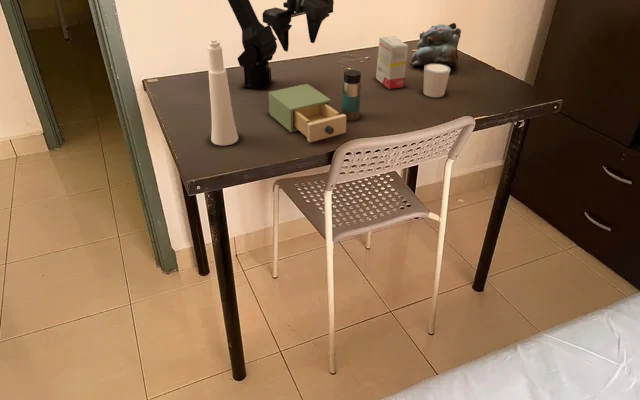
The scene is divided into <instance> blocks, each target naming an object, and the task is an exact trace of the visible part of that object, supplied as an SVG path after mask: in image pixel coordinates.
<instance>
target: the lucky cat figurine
mask: <svg viewBox="0 0 640 400" xmlns="http://www.w3.org/2000/svg"><path fill="white" fill-rule="evenodd" d="M461 33H462V29H461V28H459V27H457V23H455V22H452V23H450V24H449V25H447V24H444V23H443V24H437V25H432V26H431V27H430V28H429V29H427V30H426V31H422V32H421V33H419V40H418V42H417V45H416V47H417V50H416V51H414V53H413V54H411V59H410V60H411V63H410V65H411V66H412V67H413V68H414V67H418V66H426V65H428V64H442V65H446V66H448V67H449V68H455V67H458V66H459V63H458V62H459V54H458V47H459V43H460V38H461Z"/></svg>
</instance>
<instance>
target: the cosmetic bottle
mask: <svg viewBox="0 0 640 400" xmlns="http://www.w3.org/2000/svg"><path fill="white" fill-rule="evenodd" d="M207 43H208V47H207V52H208V63H209V69H208V87H209V98H210V99H209V100H210V113H211V114H210V115H211V136H210V140H211V142H212V144H213V145H217V146H223V147H225V146H229V145H230V146H231V145H234V144H235V143H237V142H238V141H239V134H238V131H237V127H236V123H235V118H234V113H233V107H232V100H231V99H232V98H231V94H230V86H229V81H228V73H227V69H226V68H225V66H224V58H223V57H224V55H223V47H222V46H221V42H220V40H214V39H213V40H209V41H208V42H207Z"/></svg>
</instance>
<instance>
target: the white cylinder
mask: <svg viewBox="0 0 640 400" xmlns="http://www.w3.org/2000/svg"><path fill="white" fill-rule="evenodd" d="M450 73H451V67H449V66H446V65H442V64H428V65H423V84H422V87H423V88H422V89H423V90H422V93H423V94H424V95H425V96H427V97H430V98H441V97H444V96H445V93H446V90H447V85H448V82H449V77H450Z"/></svg>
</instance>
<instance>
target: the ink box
mask: <svg viewBox="0 0 640 400" xmlns="http://www.w3.org/2000/svg"><path fill="white" fill-rule="evenodd" d="M377 51H378V52H377V63H376V74H375V79H376V80H377V81H378V82H379V83H381V84H382V85H383V86H385V87H386V88H387V89H388V90H391V89H399V88H405V77H406V69H407V60H408V51H409V45H408V44H407V43H405V42H404V41H402V40H401V39H399V38H398V37H396V36H380V37H379V38H378V50H377Z"/></svg>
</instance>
